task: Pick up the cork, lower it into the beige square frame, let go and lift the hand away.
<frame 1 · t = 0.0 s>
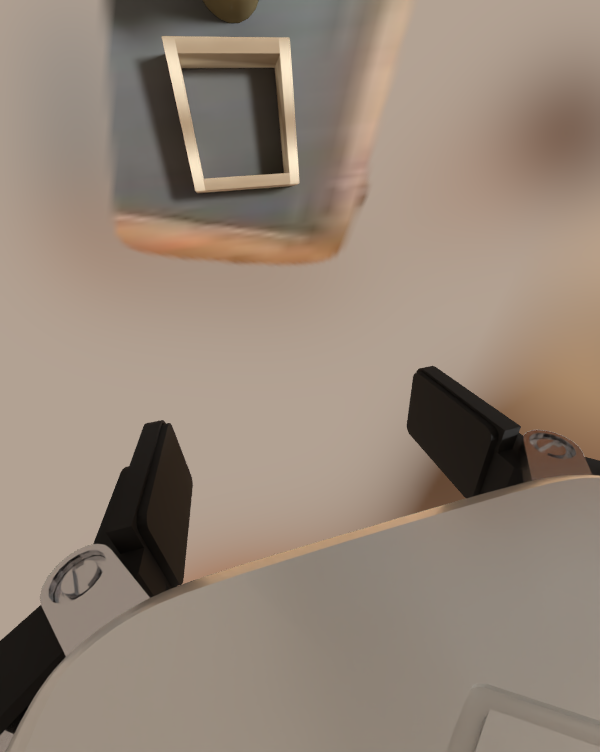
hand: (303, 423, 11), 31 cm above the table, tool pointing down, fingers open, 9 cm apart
beige square frame: (237, 127, 31), on the table
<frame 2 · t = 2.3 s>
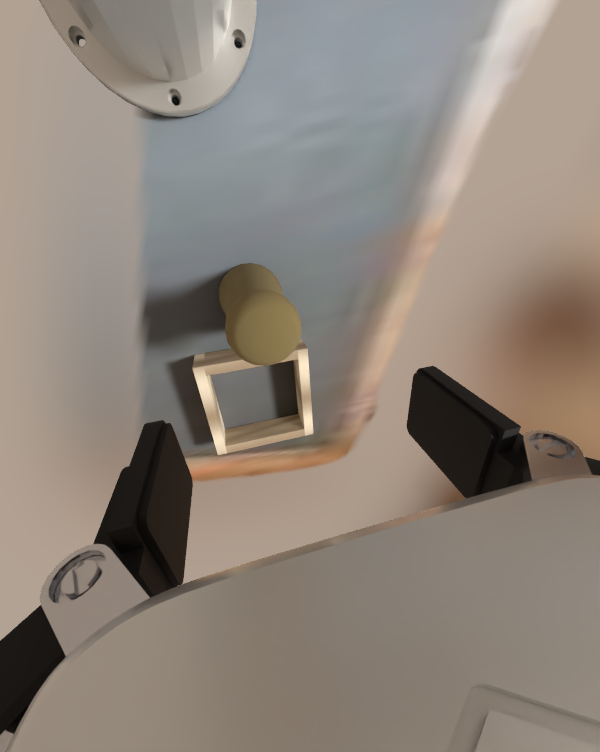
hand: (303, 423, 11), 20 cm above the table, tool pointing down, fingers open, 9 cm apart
cork: (250, 296, 28), on the table
beige square frame: (256, 390, 33), on the table
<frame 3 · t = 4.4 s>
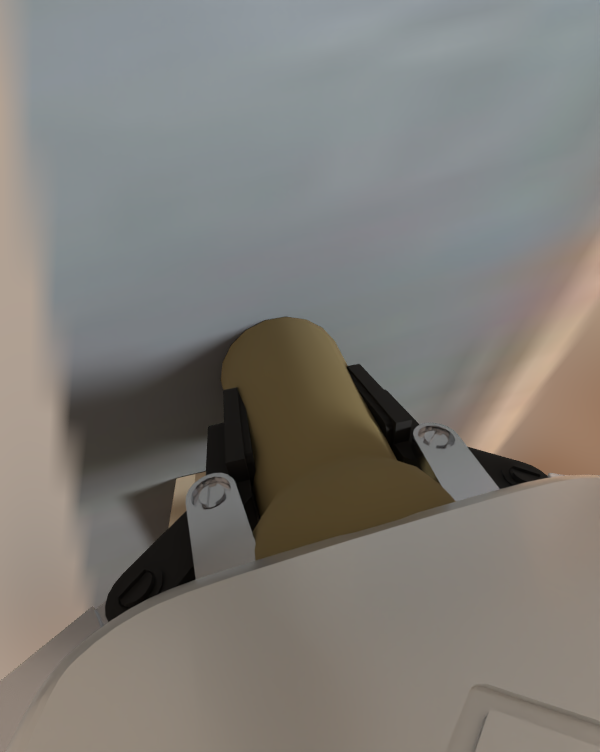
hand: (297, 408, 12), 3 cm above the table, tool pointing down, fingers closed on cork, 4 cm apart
cork: (283, 374, 15), on the table, touching gripper
beige square frame: (285, 515, 19), on the table
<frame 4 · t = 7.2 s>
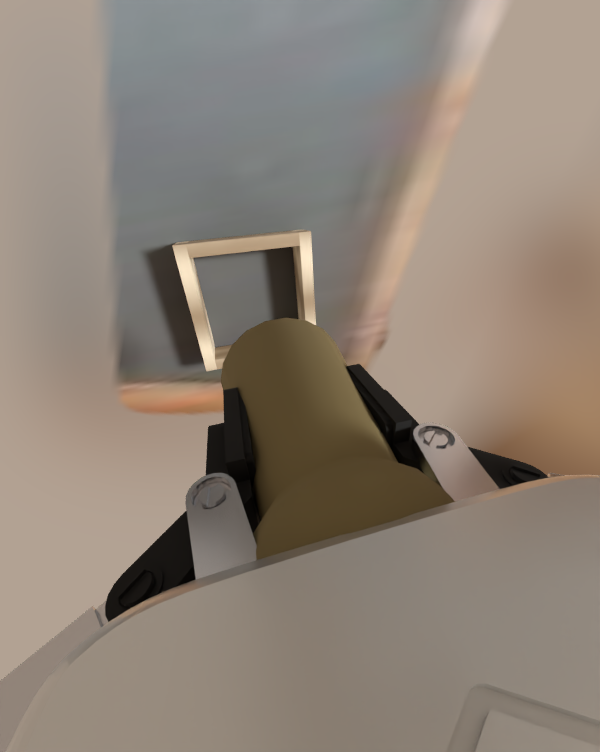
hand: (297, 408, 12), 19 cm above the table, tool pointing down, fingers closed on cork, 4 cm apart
cork: (283, 375, 15), point 16 cm above the table, touching gripper
beige square frame: (251, 297, 28), on the table
when the fingers open (4 cm above the table, at t = 10.3 s): cork drops 1 cm, resting in beige square frame.
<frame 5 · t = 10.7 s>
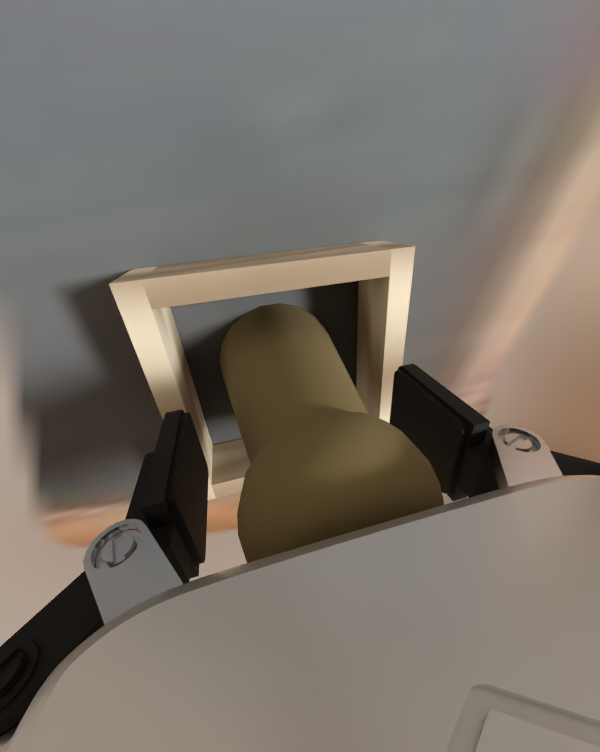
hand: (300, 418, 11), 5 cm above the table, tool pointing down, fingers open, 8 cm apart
cork: (277, 358, 16), resting in beige square frame
beige square frame: (278, 363, 16), on the table
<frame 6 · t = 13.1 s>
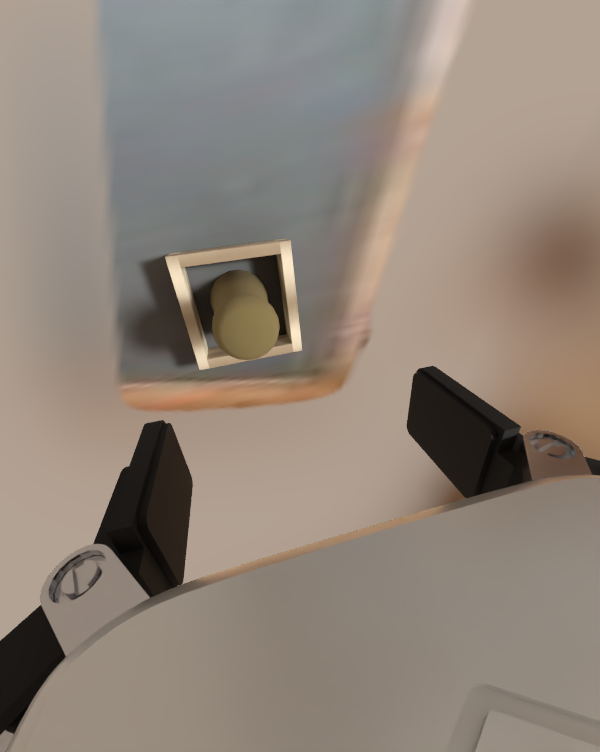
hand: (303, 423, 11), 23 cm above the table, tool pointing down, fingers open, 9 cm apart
cork: (239, 299, 31), resting in beige square frame
beige square frame: (240, 302, 31), on the table
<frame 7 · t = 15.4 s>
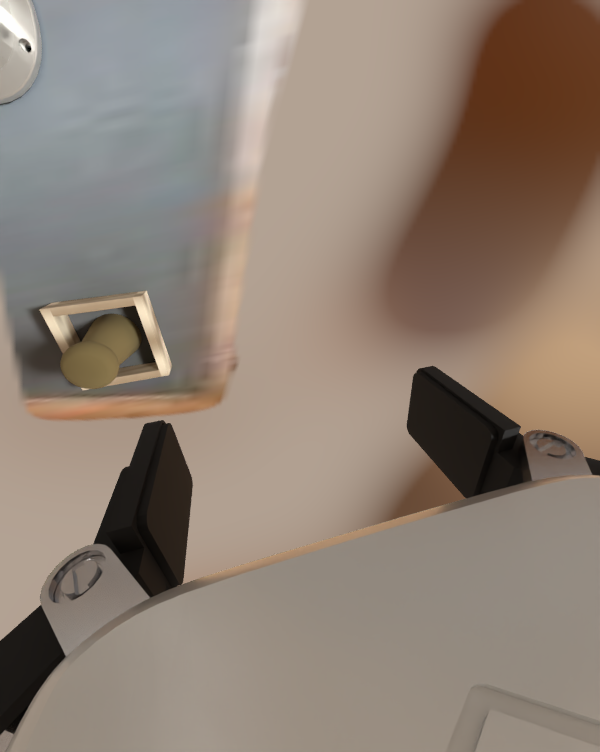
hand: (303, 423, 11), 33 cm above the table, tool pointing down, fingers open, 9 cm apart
cork: (117, 335, 39), resting in beige square frame
beige square frame: (117, 337, 39), on the table
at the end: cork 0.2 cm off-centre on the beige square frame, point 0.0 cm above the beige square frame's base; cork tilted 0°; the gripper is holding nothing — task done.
